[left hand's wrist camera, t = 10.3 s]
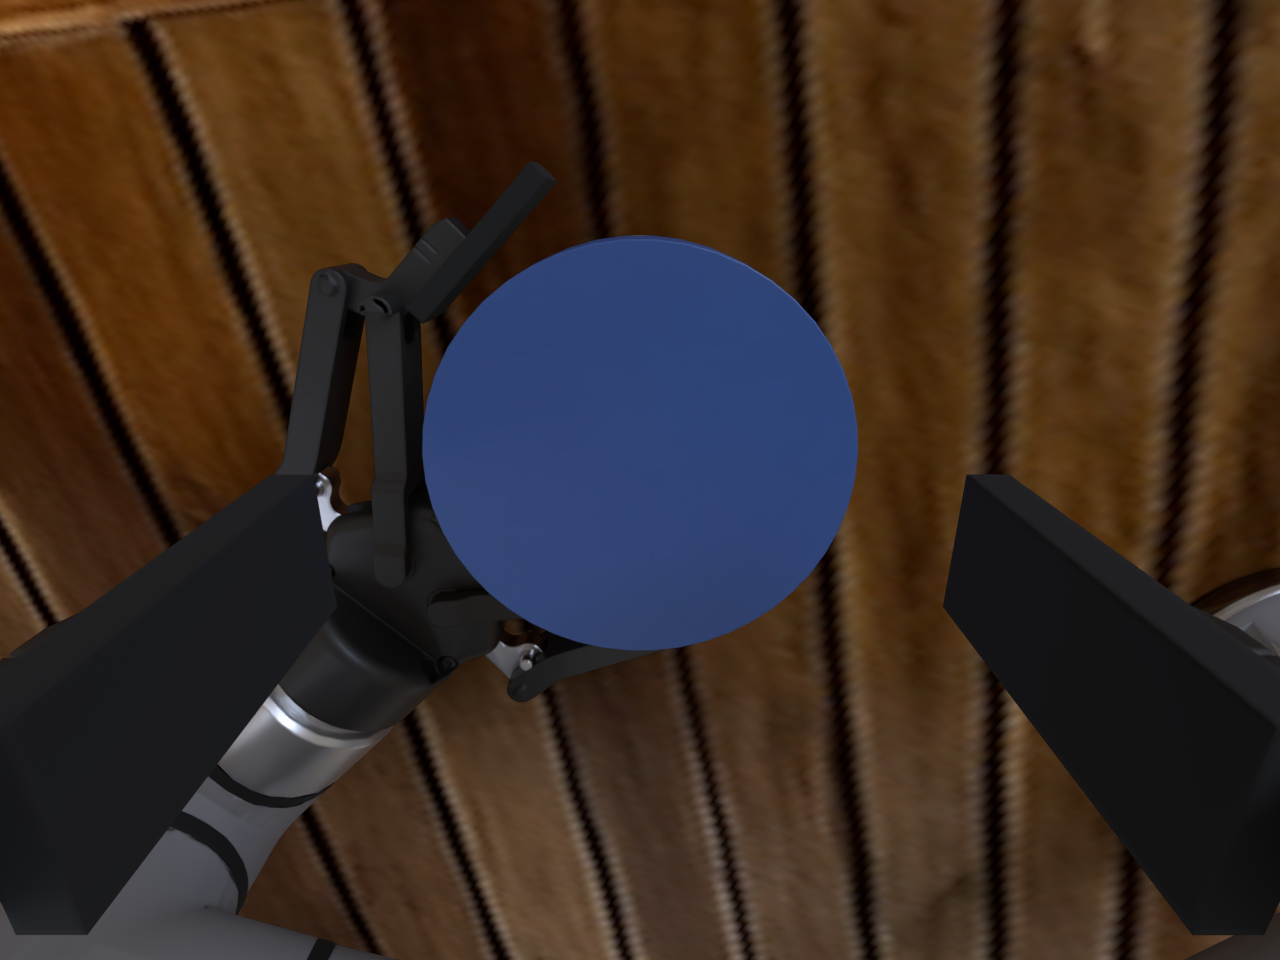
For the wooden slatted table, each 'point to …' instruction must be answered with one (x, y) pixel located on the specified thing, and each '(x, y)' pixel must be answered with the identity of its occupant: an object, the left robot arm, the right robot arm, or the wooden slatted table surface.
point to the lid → (639, 443)
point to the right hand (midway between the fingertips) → (685, 314)
